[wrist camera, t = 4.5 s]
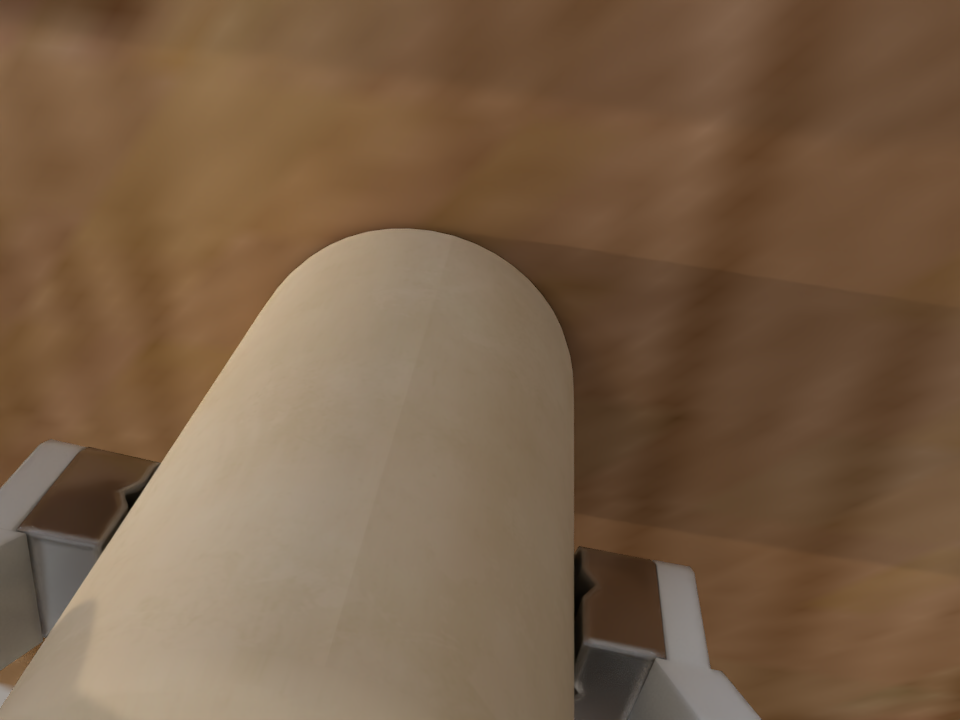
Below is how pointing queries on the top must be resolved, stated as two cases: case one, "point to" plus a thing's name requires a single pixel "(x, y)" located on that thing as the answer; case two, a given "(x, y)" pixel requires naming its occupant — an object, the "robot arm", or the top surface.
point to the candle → (348, 514)
